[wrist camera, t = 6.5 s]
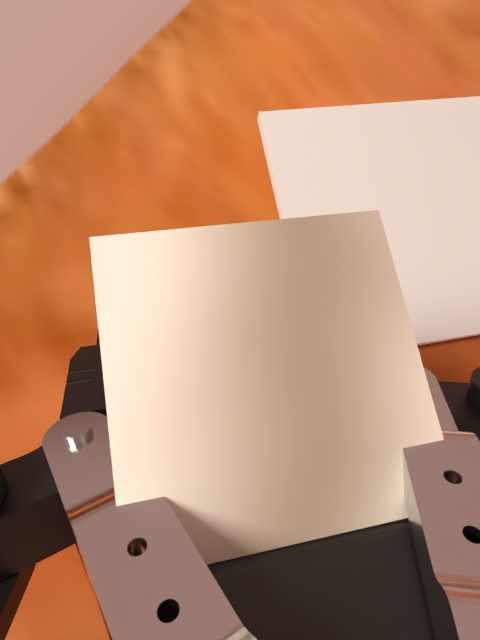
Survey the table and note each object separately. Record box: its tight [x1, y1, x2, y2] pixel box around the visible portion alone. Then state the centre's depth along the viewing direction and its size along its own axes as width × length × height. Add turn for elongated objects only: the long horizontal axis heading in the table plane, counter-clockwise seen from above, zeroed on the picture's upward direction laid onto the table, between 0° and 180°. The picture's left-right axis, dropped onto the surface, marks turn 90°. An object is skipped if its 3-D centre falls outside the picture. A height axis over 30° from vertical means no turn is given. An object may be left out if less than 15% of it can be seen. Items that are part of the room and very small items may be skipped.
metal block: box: [89, 210, 444, 565], centre depth 12 cm, size 5×5×10 cm
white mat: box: [257, 96, 480, 346], centre depth 23 cm, size 15×13×1 cm
